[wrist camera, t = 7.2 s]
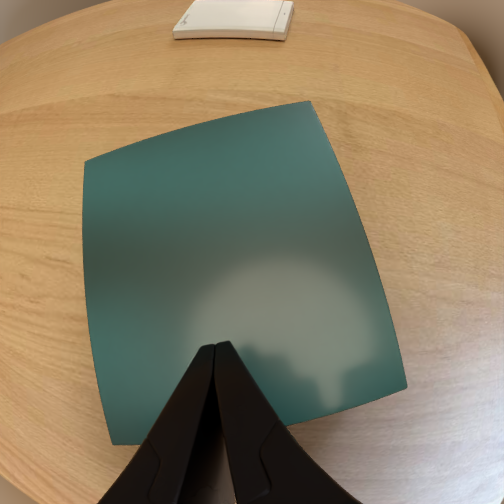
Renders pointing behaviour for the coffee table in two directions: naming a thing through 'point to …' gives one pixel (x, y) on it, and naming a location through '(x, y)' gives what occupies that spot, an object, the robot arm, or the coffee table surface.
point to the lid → (233, 269)
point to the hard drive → (236, 19)
